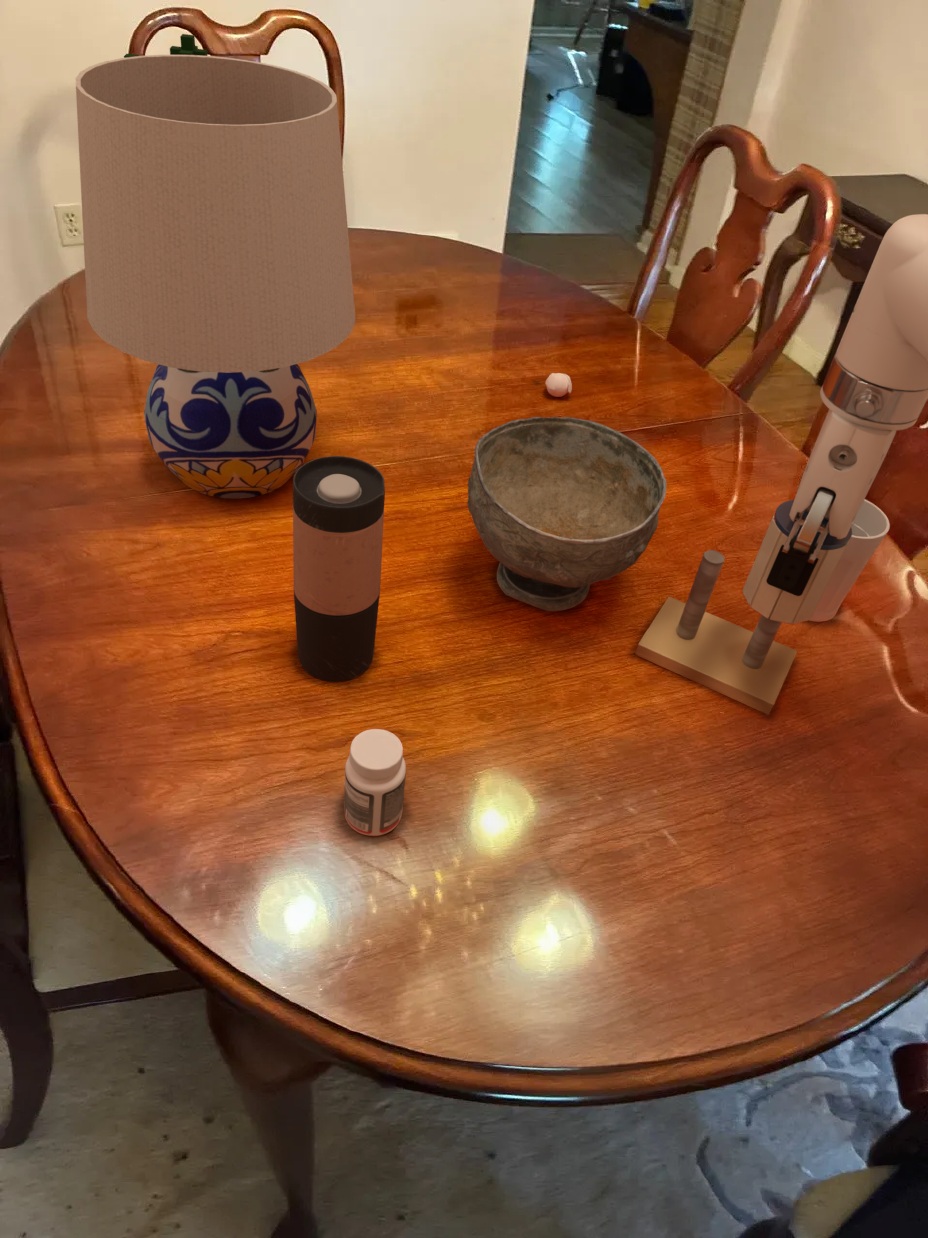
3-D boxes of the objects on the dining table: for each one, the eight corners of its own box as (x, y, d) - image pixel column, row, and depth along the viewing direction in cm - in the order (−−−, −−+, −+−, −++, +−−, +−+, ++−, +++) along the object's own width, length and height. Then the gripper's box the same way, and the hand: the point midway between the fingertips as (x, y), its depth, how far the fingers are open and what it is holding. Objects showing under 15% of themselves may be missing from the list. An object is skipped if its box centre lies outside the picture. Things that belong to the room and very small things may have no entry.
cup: (774, 618, 99) (815, 529, 91) (768, 572, 105) (806, 485, 97) (849, 633, 99) (896, 544, 91) (838, 586, 105) (882, 499, 97)
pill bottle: (398, 787, 78) (404, 722, 72) (405, 835, 74) (412, 770, 69) (341, 791, 77) (343, 725, 71) (346, 840, 73) (348, 774, 68)
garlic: (567, 405, 128) (571, 391, 132) (573, 383, 126) (576, 370, 130) (532, 397, 129) (537, 383, 132) (537, 375, 127) (541, 362, 130)
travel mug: (278, 652, 88) (271, 475, 74) (339, 617, 92) (343, 444, 79) (331, 697, 84) (334, 520, 71) (392, 658, 89) (406, 485, 75)
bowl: (523, 671, 89) (549, 550, 79) (423, 556, 101) (434, 437, 90) (674, 612, 98) (715, 496, 88) (566, 512, 109) (592, 399, 99)
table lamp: (106, 540, 97) (26, 123, 70) (121, 406, 116) (63, 39, 89) (364, 530, 103) (381, 142, 76) (338, 405, 122) (344, 59, 95)
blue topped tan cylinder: (822, 593, 87) (859, 517, 81) (804, 634, 83) (842, 556, 77) (755, 566, 89) (787, 489, 83) (734, 604, 85) (766, 526, 79)
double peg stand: (792, 661, 95) (834, 575, 87) (768, 715, 88) (811, 628, 81) (665, 606, 99) (694, 519, 91) (634, 654, 93) (663, 566, 85)
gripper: (904, 454, 64) (812, 637, 76) (940, 363, 76) (855, 534, 88) (800, 417, 67) (726, 601, 79) (850, 334, 78) (779, 505, 90)
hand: (795, 564), depth 83 cm, fingers closed on blue topped tan cylinder, 7 cm apart
